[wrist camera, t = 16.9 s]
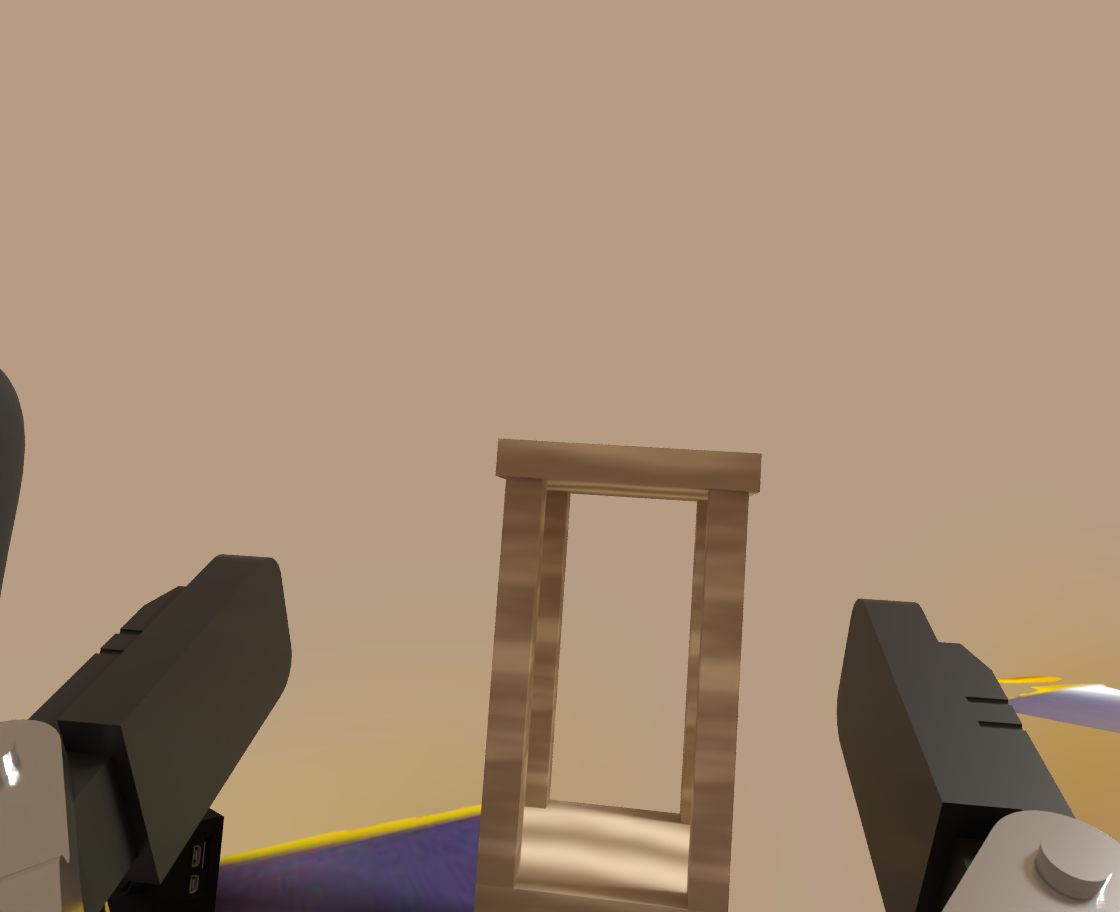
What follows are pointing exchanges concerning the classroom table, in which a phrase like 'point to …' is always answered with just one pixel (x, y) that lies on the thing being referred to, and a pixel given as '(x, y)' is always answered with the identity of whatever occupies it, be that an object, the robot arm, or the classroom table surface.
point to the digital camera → (180, 877)
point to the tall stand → (531, 689)
